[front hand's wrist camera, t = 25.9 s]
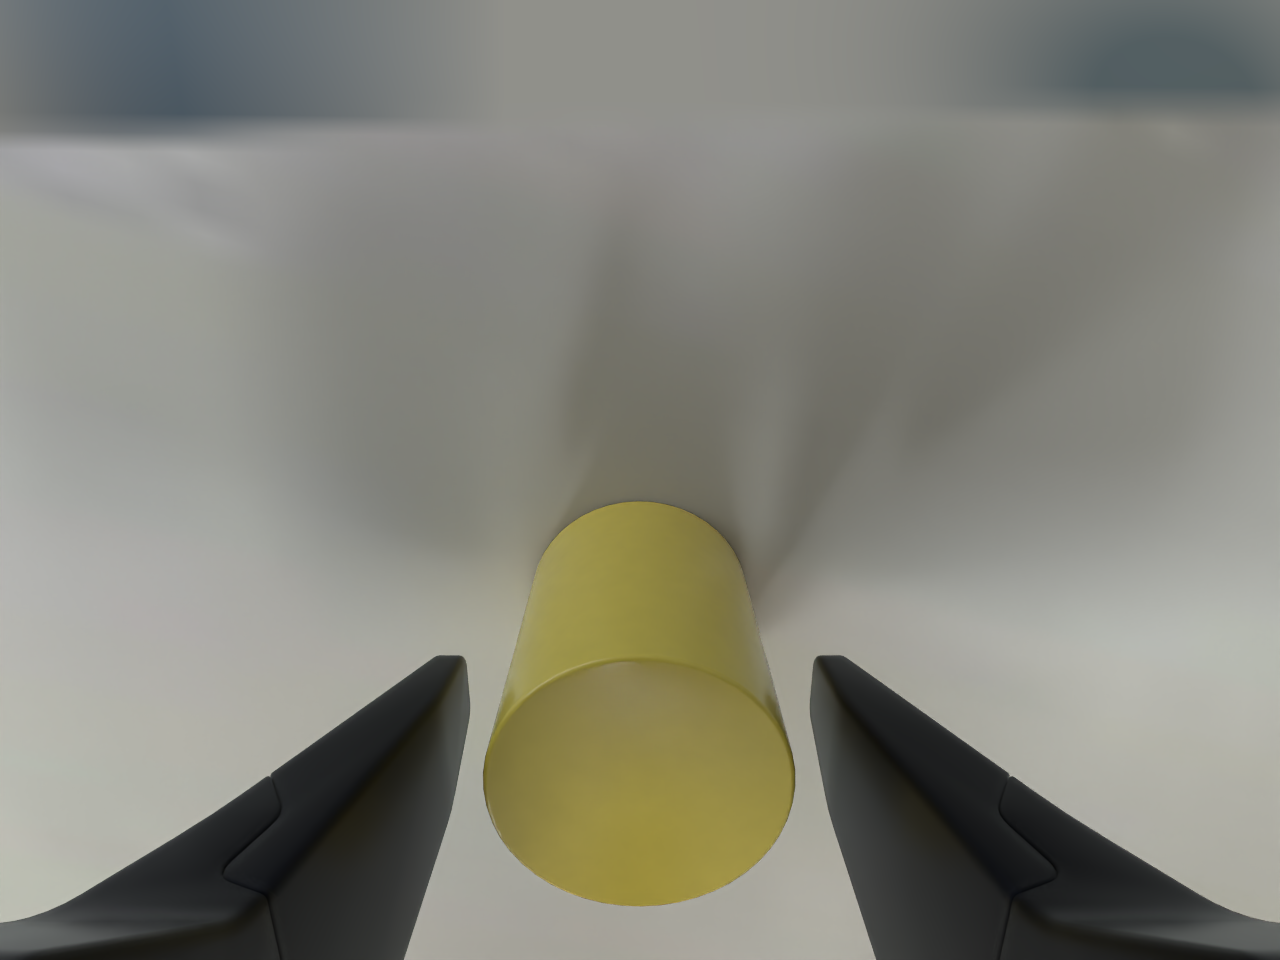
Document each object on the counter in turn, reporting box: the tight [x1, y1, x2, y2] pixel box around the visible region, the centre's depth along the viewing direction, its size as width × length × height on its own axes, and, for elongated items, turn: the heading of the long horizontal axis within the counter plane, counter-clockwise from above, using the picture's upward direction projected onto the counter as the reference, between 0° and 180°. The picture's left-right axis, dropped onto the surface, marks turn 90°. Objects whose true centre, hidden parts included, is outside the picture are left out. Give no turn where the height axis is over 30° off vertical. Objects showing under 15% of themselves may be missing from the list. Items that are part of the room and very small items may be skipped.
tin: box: [483, 501, 795, 906], centre depth 12 cm, size 4×4×5 cm
